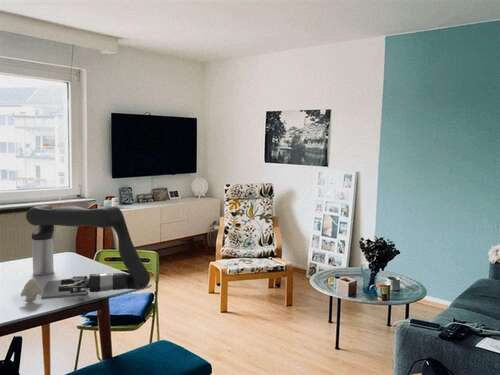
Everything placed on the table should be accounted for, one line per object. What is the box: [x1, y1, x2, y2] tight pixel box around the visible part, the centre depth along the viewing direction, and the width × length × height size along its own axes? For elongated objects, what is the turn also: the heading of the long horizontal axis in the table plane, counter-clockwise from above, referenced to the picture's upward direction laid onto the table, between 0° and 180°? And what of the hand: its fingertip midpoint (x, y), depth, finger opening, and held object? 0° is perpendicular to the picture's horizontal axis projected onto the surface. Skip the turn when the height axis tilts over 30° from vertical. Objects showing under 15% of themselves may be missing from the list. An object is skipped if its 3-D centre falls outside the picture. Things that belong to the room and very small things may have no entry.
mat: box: [40, 277, 89, 300], centre depth 200 cm, size 21×18×1 cm
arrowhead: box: [20, 278, 43, 303], centre depth 183 cm, size 8×3×10 cm, turn 119°
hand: (59, 285), depth 186 cm, fingers open, 8 cm apart
